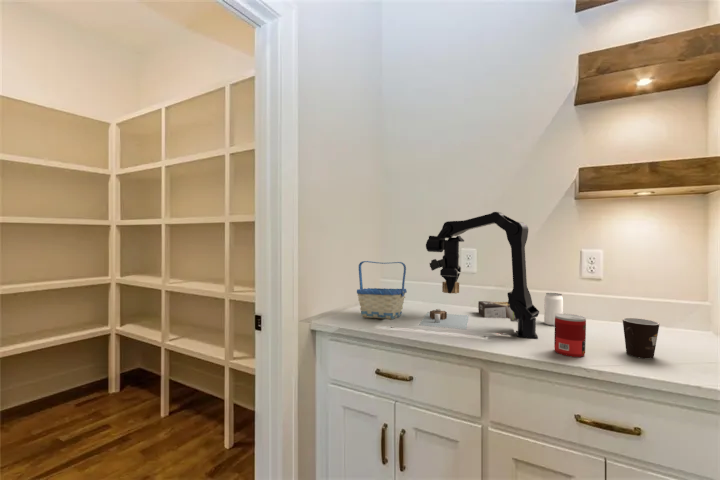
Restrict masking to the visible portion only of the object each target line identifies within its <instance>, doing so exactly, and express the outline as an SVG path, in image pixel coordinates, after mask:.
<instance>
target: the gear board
mask: <svg viewBox="0 0 720 480" xmlns="http://www.w3.org/2000/svg"><path fill="white" fill-rule="evenodd" d="M468 322H469V315H468V314H457V313H456V314H454V313H447V319H444V320H442V319H440V314H435V319H431V318H430V311H427V313H426V314H425V315H424V317H423V318H422V320H421V321H420V323H418V326H422V327H423V326H424V327H435V328H444V329H445V328H446V329H447V328H448V329H457V330H467V328H468Z"/></svg>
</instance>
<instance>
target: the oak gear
mask: <svg viewBox="0 0 720 480" xmlns="http://www.w3.org/2000/svg"><path fill="white" fill-rule="evenodd" d="M441 284H442V286H441V287H442V290H441V291H442V293H443V294H451V295H452V294H459V293H460V282H458V281H457V282H455V285H454V287H453V290H452V292H451V293H448V289H447V284H446V280H445V281H442V282H441Z"/></svg>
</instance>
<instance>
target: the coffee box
mask: <svg viewBox="0 0 720 480" xmlns="http://www.w3.org/2000/svg"><path fill="white" fill-rule="evenodd" d="M477 308H478V309H477V311H478V314H479V315H480V316H482V317H483V318H488V319H489V318H492V319H499V318H500V319H509V320H510V321H513V322H515V321H516V322H518V319H516V317H515V314H514V312H513V311H512V310H511V309H510V304H508V301H493V300H492V301H491V300H490V301H487V300H486V301H485V300H482V301H481V300H479V301H478V307H477Z"/></svg>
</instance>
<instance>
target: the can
mask: <svg viewBox="0 0 720 480" xmlns="http://www.w3.org/2000/svg"><path fill="white" fill-rule="evenodd" d="M543 312H544V313H543V315H544V316H543V323H544V324H545V325H546V326H547V325H548V326H551V325H552V326H551V327H555V315H556V314H564V298H563V294H562V293H556V292H545V296H544V311H543Z"/></svg>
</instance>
